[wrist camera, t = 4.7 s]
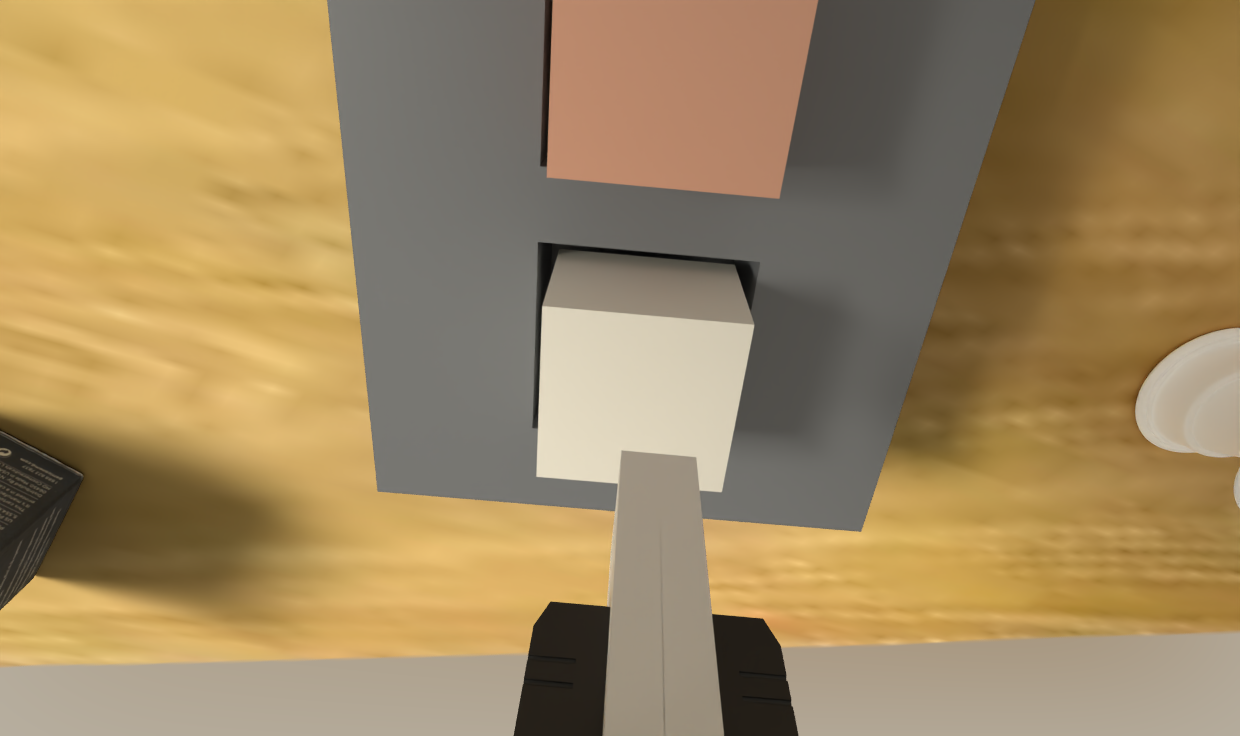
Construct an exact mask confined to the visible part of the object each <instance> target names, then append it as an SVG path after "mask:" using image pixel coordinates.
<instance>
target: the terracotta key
mask: <svg viewBox="0 0 1240 736" xmlns="http://www.w3.org/2000/svg"><path fill="white" fill-rule="evenodd" d="M817 4H818V0H553V8H552V37H551V66H550V95H549V124H548V153H547V178H558V179H569V180H580V181H591V182H602V183H613V184H624V185H634V186H645V187H656V188H667V189H678V190H689V191H700V192H711V193H722V194H733V195H743V196H754V197H765V198H776V199H779V198H780V193H781V187H782V182H783V177H784V172H785V167H786V162H787V157H788V152H789V147H790V142H791V136H792V131H793V126H794V121H795V116H796V111H797V106H798V101H799V96H800V91H801V85H802V80H803V75H804V70H805V65H806V60H807V55H808V50H809V45H810V39H811V34H812V29H813V24H814V19H815V14H816V9H817Z"/></svg>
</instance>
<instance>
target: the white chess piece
mask: <svg viewBox="0 0 1240 736" xmlns="http://www.w3.org/2000/svg"><path fill="white" fill-rule="evenodd" d="M1135 417H1136V422H1137V425H1138V427H1139V430H1140V431H1141V433H1142V434H1143V436H1144V437H1145V438H1146V439H1147V440H1148V441H1150V442H1151V443H1152V444H1154V445H1156V446H1158V447H1160V448H1162V449H1165V450H1169V451H1173V452H1181V453H1194V452H1197V453H1199V454H1202V455H1205V456H1210V457H1232V456H1236V457H1240V328H1230V329H1223V330H1219V331H1215V332H1211V333H1208V334H1205V335H1202V336H1200V337H1197V338H1195V339H1193V340H1191V341H1189V342H1187V343H1185V344H1184V345H1182V346H1180V347H1179V348H1177V349H1176V350H1174V351H1173V352H1171V353H1170V354H1169V355H1168V356H1166V357H1165V358H1164V359H1163V360H1162V361H1161V362H1160V363H1159V364H1158V365H1157V366H1156V367H1155V368H1154V369H1153V370H1152V371H1151V373H1150V374H1149V375H1148V377H1147V378H1146V380H1145V381H1144V383H1143V385H1142V387H1141V389H1140V391H1139V394H1138V397H1137V401H1136V406H1135ZM1234 497H1235V501H1236V503H1237V505H1238V507H1239V508H1240V467H1239V469H1238V471H1237V474H1236V477H1235V481H1234Z"/></svg>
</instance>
